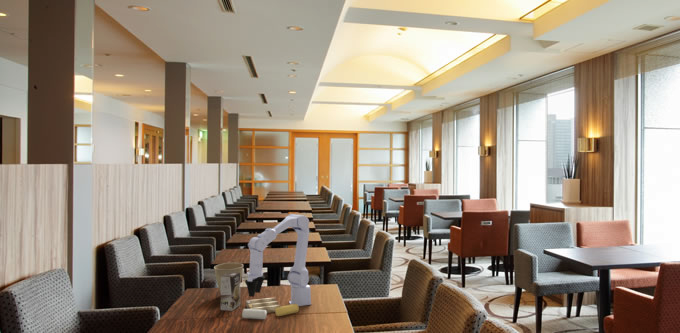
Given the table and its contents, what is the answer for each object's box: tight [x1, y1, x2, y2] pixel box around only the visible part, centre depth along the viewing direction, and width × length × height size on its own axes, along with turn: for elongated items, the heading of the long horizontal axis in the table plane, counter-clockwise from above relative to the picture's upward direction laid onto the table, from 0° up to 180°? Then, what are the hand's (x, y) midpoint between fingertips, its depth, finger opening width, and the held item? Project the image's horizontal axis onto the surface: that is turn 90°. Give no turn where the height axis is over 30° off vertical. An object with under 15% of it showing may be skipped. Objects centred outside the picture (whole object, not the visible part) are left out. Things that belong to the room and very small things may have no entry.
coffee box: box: [220, 272, 241, 312], centre depth 217 cm, size 9×6×16 cm
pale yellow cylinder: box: [274, 304, 300, 317], centre depth 208 cm, size 10×4×4 cm, turn 124°
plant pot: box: [213, 262, 244, 294], centre depth 236 cm, size 15×15×16 cm
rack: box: [245, 297, 282, 314], centre depth 216 cm, size 14×14×3 cm
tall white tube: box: [241, 308, 268, 320], centre depth 203 cm, size 10×4×4 cm, turn 79°
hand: (254, 294), depth 204 cm, fingers open, 7 cm apart
